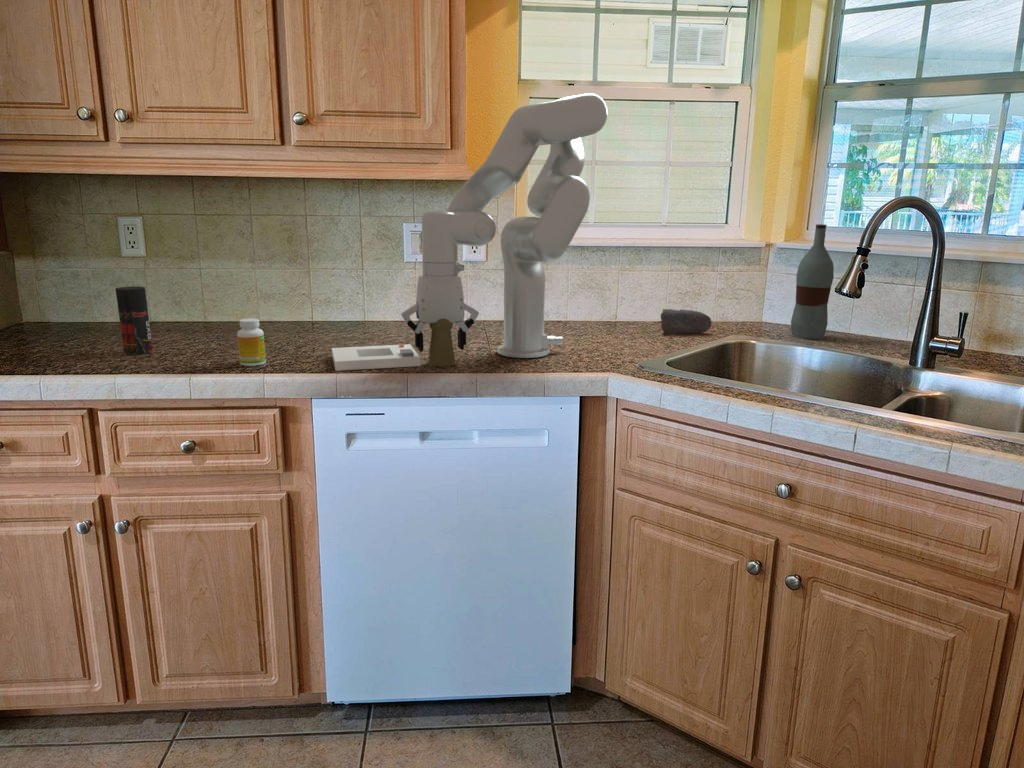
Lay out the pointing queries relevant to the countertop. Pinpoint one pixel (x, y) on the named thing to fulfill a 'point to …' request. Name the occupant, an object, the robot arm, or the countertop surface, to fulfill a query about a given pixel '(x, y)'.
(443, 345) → the cork
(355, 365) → the white flat base
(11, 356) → the countertop surface
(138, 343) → the deodorant
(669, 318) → the perforated stone tool
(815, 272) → the vodka
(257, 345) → the supplement bottle
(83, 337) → the countertop surface
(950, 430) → the countertop surface
